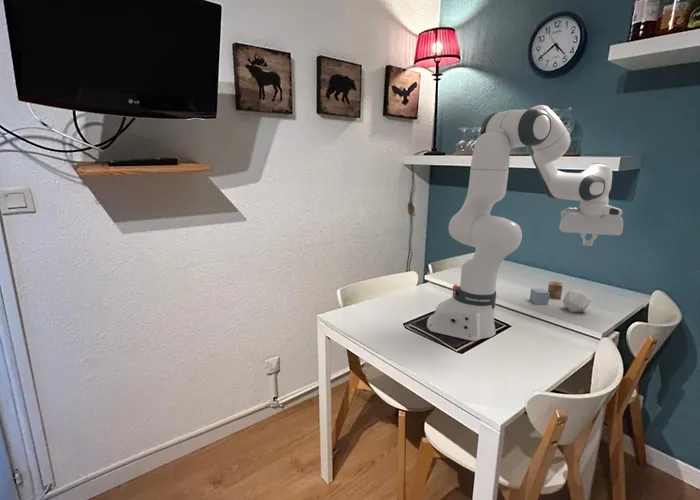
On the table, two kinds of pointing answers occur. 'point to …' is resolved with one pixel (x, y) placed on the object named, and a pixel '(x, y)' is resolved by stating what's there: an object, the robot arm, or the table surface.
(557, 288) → the walnut block
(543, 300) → the slate block
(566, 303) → the die
